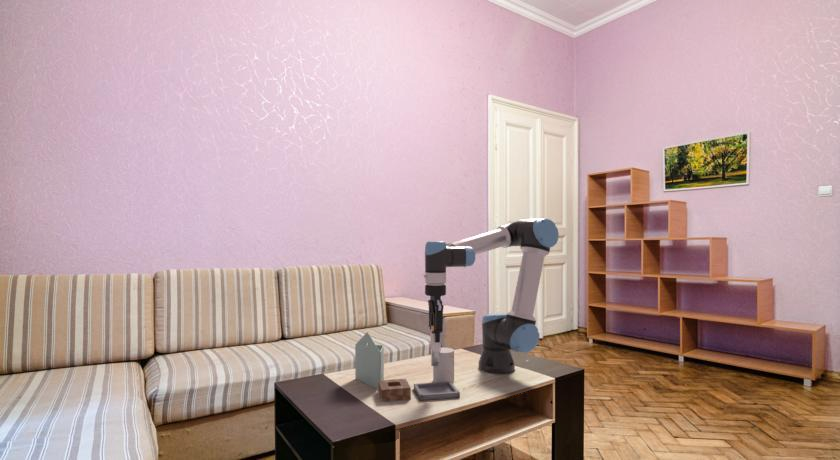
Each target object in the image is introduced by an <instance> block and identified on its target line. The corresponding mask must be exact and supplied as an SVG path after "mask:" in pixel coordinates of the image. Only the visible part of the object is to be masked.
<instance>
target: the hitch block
mask: <svg viewBox="0 0 840 460" xmlns="http://www.w3.org/2000/svg"><path fill="white" fill-rule="evenodd" d="M377 390H378V394H379V397H380V401H381V402H382V403H383V402H394V401H396V402H397V401H407V400H408V401H409V400H411V398H412V397H411V395H412V394H411V392H412V391H411V390H412V389H411V386H410V384H409V382H408V380H407V378H396V379H395V378H394V379H384V380H379V381H378V389H377Z"/></svg>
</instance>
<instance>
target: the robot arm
mask: <svg viewBox="0 0 840 460" xmlns="http://www.w3.org/2000/svg"><path fill="white" fill-rule="evenodd" d="M559 238H560V235H559V229H558V227H557V225H556V223H555V222H554V221H552V219H549V218H546V217H545V218H544V217H543V218H542V217H537V218H522V219H518V220H514V221H512V222H508V223H506V224H503V225H500V226H498V227H496V229H494V230H491V231H487V232H484V233H480V234H477V235H474V236H470V237H466V238H463V239H459V240H456V241H452V242H449V243H446V241H440V240H439V241H432V240H431V241H429V240H428V241H427V242H425V246H424V268H425V270H424V272H425V273H424V275H423V278H424V280H425V281H424V282H425V285H424V295H426V296H428V297H430V298H429V300H428V301H427V303H428V327H429V330H430V335H429V337H430V341H429V342H430V347H429V348H430V350H431V326H432V325H434V331H432V333H433V352H435V351H441V348H442V342H441V341H442V339H441V338H442V335H441V334H442V333H443V327H444V326H443V321H444V304H443V300H442V297H444V296H446V295H447V286H446V283H447V268H451V267H452V268H459V267H460V268H462V267H463V268H466V267H472V266H473V265H474V263H475V262H476V255H479V254H482V253H485V252H489V251H492V250H495V249H499V248H503V249H508V248H510V247H520V250H521V251H522V258H521V262H520V268H519V273H518V277H517V281H516V287H515V291H514V297H513V302H512V306H511V310H510V311H509V312H507V313H505V312H503V313H501V312H500V313H499V312H498V313H487V314H484V315H483V316H482V320H481V326H482V327H481V328H482V329H481V331H482V337H481V338H482V349H481V352H480V353H481V354H480V356H479V360H478V369H479V370H480V371H482V372H485V373H490V374H509V373H513V372H514V371H515V368H516V365H515V361H514V358H513V354H512V352H511V350H512V351H513V352H517V353H522V354H528V353H530V352H532V350H534V349H535V348H536V347H537V345H538V343H539V341H540V332H539V329H538V327H537V326H536V323H537V319H536V318H535V316H534V313H535V308H536V302H537V297H538V292H539V287H540V283H541V276H542V271H543V267H544V260H545V258H546V256H548V255H550V252H551V251H550V250H551V248H553V247H555V246H556V244H557V243H558V241H559Z"/></svg>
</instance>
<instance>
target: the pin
mask: <svg viewBox="0 0 840 460" xmlns="http://www.w3.org/2000/svg"><path fill="white" fill-rule="evenodd" d="M432 331H434V325H432V326H431V349H430V350H431V351H430V352H431V355H430V356H431V357H430V361H431V362H430V363H431V365H430V366H431V367H433V366H440V351H435V352H433V333H432Z"/></svg>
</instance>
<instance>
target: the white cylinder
mask: <svg viewBox="0 0 840 460" xmlns="http://www.w3.org/2000/svg"><path fill="white" fill-rule="evenodd" d="M432 367H433V368H432V374H433V375H432V380H433V381H432V383H434V382H447V381H451V383H452V384H454V383H455V349H453V348H451V347H441V351H440V366H432Z"/></svg>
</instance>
